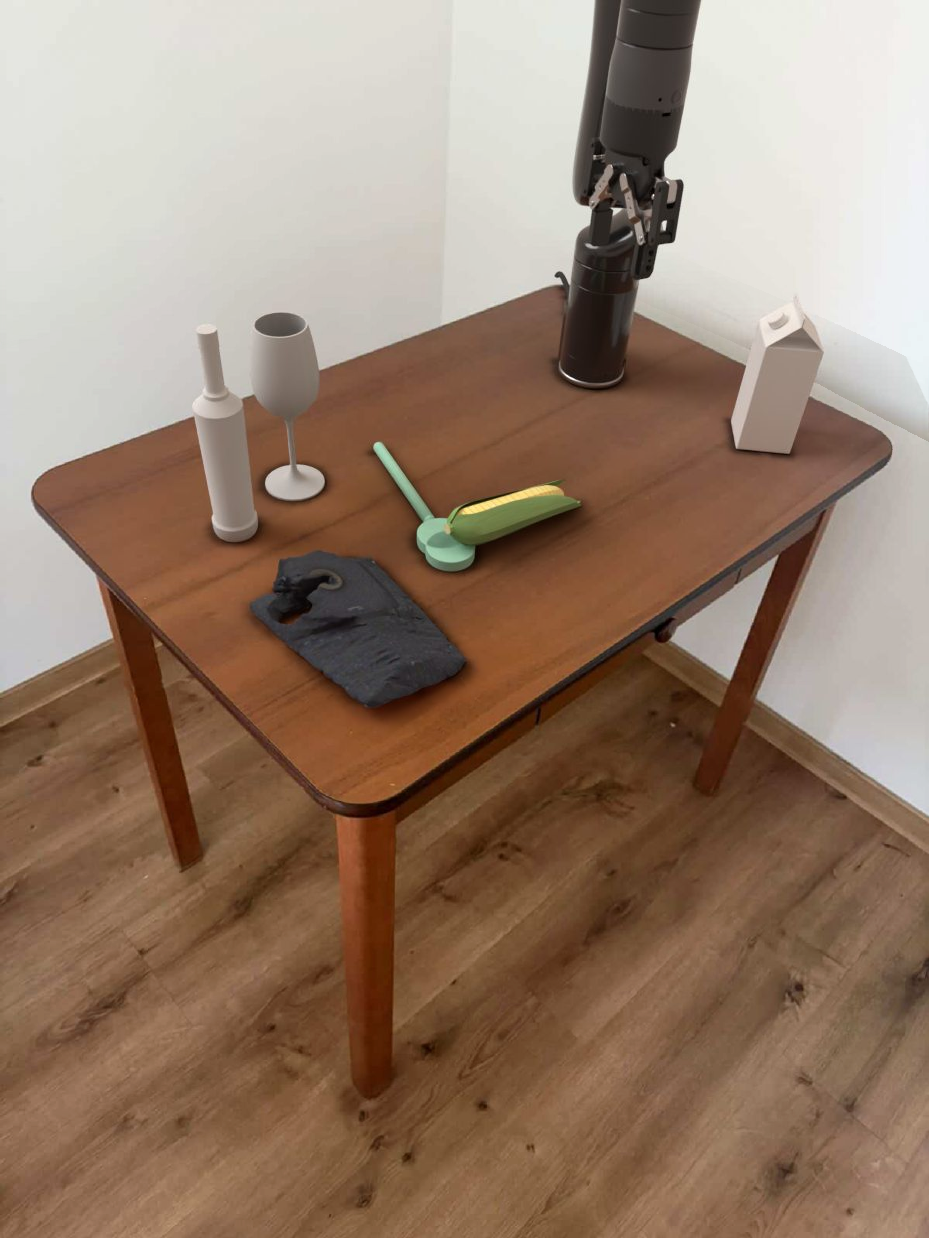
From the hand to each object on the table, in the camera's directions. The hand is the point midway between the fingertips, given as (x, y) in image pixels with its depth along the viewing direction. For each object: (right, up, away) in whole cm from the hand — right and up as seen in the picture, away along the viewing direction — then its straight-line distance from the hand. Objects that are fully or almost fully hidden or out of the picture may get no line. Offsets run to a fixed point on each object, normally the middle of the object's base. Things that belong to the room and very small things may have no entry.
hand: (618, 261), depth 102 cm
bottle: (-43, -28, +9) cm, 52 cm away
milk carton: (+23, -14, +28) cm, 39 cm away
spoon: (-22, -24, +14) cm, 36 cm away
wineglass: (-37, -22, +16) cm, 46 cm away
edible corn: (-11, -27, +11) cm, 31 cm away
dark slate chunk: (-28, -40, -2) cm, 49 cm away
